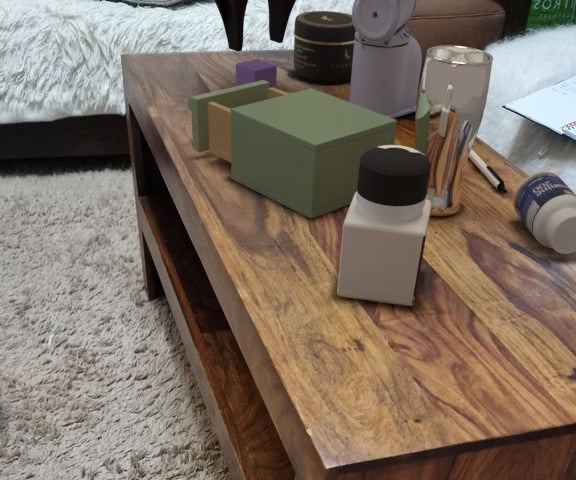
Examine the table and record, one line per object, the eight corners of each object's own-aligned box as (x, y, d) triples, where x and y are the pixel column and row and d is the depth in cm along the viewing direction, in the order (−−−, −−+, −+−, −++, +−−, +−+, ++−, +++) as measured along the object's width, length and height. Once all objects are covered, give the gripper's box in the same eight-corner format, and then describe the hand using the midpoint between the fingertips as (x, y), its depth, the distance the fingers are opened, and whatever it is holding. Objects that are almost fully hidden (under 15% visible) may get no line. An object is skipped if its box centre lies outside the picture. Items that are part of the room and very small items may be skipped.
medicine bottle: (413, 308, 70) (436, 174, 62) (335, 297, 71) (348, 163, 62) (419, 272, 75) (442, 143, 67) (347, 262, 76) (360, 133, 67)
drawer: (172, 139, 95) (168, 87, 91) (241, 121, 101) (241, 71, 97) (260, 182, 87) (261, 127, 83) (330, 160, 92) (334, 107, 88)
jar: (322, 89, 114) (326, 30, 109) (278, 72, 119) (280, 15, 114) (369, 78, 119) (375, 21, 114) (325, 62, 124) (329, 6, 119)
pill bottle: (567, 168, 81) (605, 207, 74) (554, 218, 85) (589, 259, 78) (518, 169, 81) (552, 209, 74) (507, 219, 84) (538, 261, 78)
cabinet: (231, 179, 89) (230, 108, 84) (308, 155, 95) (312, 87, 90) (311, 218, 83) (315, 144, 77) (388, 190, 89) (397, 120, 83)
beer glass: (469, 200, 88) (501, 51, 77) (455, 223, 83) (487, 68, 73) (410, 188, 89) (434, 40, 79) (393, 210, 85) (416, 56, 74)
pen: (500, 195, 89) (503, 185, 88) (447, 136, 102) (449, 127, 101) (508, 195, 89) (510, 185, 88) (454, 136, 102) (455, 127, 101)
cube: (257, 85, 114) (257, 58, 112) (276, 93, 112) (277, 65, 110) (235, 90, 112) (235, 63, 110) (254, 98, 110) (254, 70, 107)
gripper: (278, -84, 104) (275, 31, 114) (193, -77, 97) (197, 46, 106) (314, -76, 100) (308, 42, 110) (229, -68, 93) (230, 58, 103)
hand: (256, 45), depth 108 cm, fingers open, 7 cm apart
